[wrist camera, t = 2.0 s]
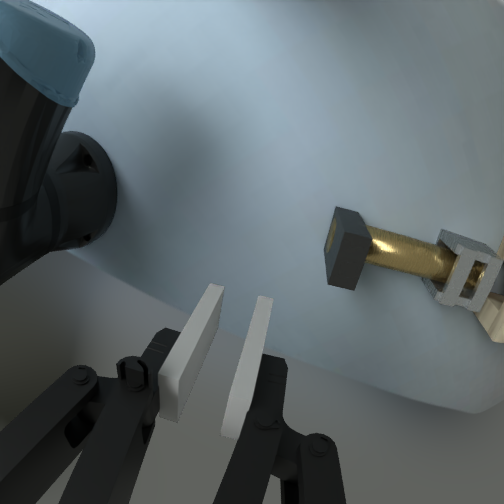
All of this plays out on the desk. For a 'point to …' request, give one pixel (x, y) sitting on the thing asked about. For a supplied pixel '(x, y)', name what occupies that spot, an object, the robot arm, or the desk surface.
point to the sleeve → (465, 272)
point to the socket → (493, 311)
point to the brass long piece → (383, 253)
